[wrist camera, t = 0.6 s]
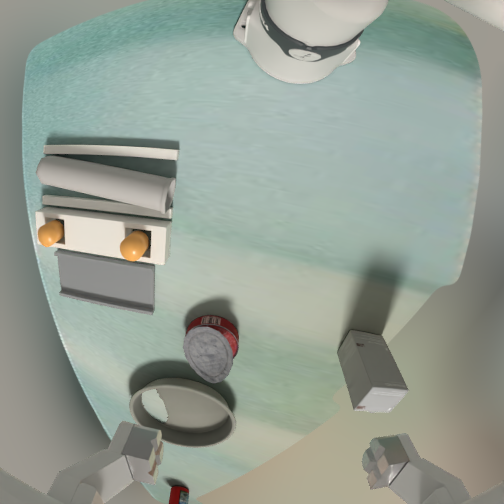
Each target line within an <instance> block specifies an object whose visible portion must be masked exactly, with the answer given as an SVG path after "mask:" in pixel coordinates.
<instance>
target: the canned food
mask: <svg viewBox="0 0 504 504" xmlns="http://www.w3.org/2000/svg"><path fill="white" fill-rule="evenodd" d="M238 341H239V336H238V332H237V330H236V328H235V327H234V325H233V324H232V323H231V322H229V321H228V320H226V319H224V318H222V317H219V316H213V315H207V316H202V317H199V318H197V319H195V320H194V321H192V322H191V323H190V325H189V326H188V328H187V332H186V335H185V338H184V345H183V349H184V352H185V357H186V359H187V360H188V362H189V364H190V366H191V367H192V368H193V369H194V370H195V371H196V373H197V374H198V375H199V376H201V377H202V378H203V379H204V380H206V381H208V382H211V383H217V382H222V381H223V380H224V379H225V378H226V377H227V376H228V375H229V372H230V370H231V367H232V365H233V359H234V358H235V356H236V355H237V353H238V348H239V345H238Z"/></svg>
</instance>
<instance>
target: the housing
mask: <svg viewBox="0 0 504 504" xmlns="http://www.w3.org/2000/svg"><path fill="white" fill-rule="evenodd" d="M44 154H90V155H114V156H131V157H146V158H158V159H169V160H178V157H179V150H174V149H162V148H149V147H133V146H112V145H44ZM43 204H46V205H55V206H65V207H74V208H84V209H93V210H102V211H110V212H119V213H127V214H136V215H144V216H152V217H160V218H168V219H171V218H172V215H173V208H172V207H170V208H169V210H168V211H167V212H166V213H165V214H163V213H161V211H157V210H153V209H149V208H145V207H141V206H137V205H133V204H128V203H124V202H120V201H110V200H100V199H90V198H79V197H68V196H57V195H44V196H43ZM56 219H64V229H65V236H63V238H62V239H60V240H59V241H57V242H56V243H54V244H53V245H51V247H57V248H62V249H68V250H74V251H80V252H86V253H91V254H97V255H103V256H110V257H116V258H122V259H125V258H124V257H123V256H122V254H121V252H120V244H121V242H122V241H123V240H124V239H125V238H126V237H127V236H128V235H129V234H131V233H132V228H133V229H141V230H149V231H152V232H151V249H147V250H146V251H145V253H144V254H143V255H142V256H141V257H140V259H138V260H137V261H141V262H147V263H154V264H160V265H165V263H166V262H167V260H168V258H169V257H170V242H171V227H172V221H164V220H156V219H148V218H140V217H132V216H124V215H116V214H107V213H99V212H90V211H81V210H72V209H63V208H54V207H45V208H42V209H40V210H38V211H36V229H37V241H38V244H40V245H42V244H41V243H40V241H39V239H38V230H39V228H40V227H41V226H43V225H45V224H47V223H48V222H50V221H52V220H56Z"/></svg>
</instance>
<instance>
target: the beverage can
mask: <svg viewBox="0 0 504 504" xmlns="http://www.w3.org/2000/svg"><path fill="white" fill-rule="evenodd" d="M188 498H189V490H188V489H186V488H185V487H181V486H174V487H172V488H171V493H170V499H169V504H188Z"/></svg>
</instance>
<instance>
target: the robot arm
mask: <svg viewBox="0 0 504 504" xmlns="http://www.w3.org/2000/svg"><path fill="white" fill-rule="evenodd" d="M445 1H446V2H448V3H450V4H452V5H454V6H456V7H458V8H460V9H462V10H464V11H466V12H468V13H470V14H471V15H474V16H475V17H477V18H479V19H481V20H483V21H485V22H487V23H489V24H490V25H492V26H494V27H496V28H497V29H499V30H501V31H503V32H504V0H445ZM387 3H388V0H248V2H247V4H246V6H245V8H244V10H243V12H242V14H241V16H240V18H239V20H238V22H237V24H236V26H235V29H234V32H233V35H234V37H235V39H236V40H238V41H239V42H240V43H241V44H243V45H244V46H246V47H247V49H248V50H249V52H250V54H251V56H252V58H253V59H254V61H255V62H256V63H257V65H258V66H259V67H260V68H261V69H262V70H264V71H265V72H266V73H267V74H269V75H271V76H272V77H274V78H276V79H279V80H281V81H285V82H289V83H295V84H306V83H312V82H316V81H319V80H321V79H323V78H325V77H326V76H328V75H329V74H330V73H331V72H333V71H334V70H335V69H336V68H337V67H339V66H341V65H345V64H348V63H351V62H352V61H353V60H354V59H355V58H356V50H355V49H356V48H357V47H358V46H359V44H360V40H359V39H358V38H359V37H360V36H361V34H362V33H363V31H364V28H366V27H367V26H368V25H369V24H370V23H372V22H373V21H374V20H375V19H376V18H378V17H379V16H380V15H381V14H382V13H383V11H384V10H385V8H386V5H387ZM243 25H245V26H246V28H242V26H243ZM161 437H162V433H161V430H157V429H153V428H149V427H145V426H141V425H137V424H133V423H129V422H126V421H122V422H121V423H120V424H119V426H118V428H117V431H116V433H115V435H114V437H113V439H112V441H111V443H110V445H109V448H108V450H106V449H103V450H101V451H99V452H97V453H95V454H93V455H92V456H90V457H88V458H86V459H84V460H82V461H80V462H78V463H76V464H74V465H72V466H70V467H68V468H66V469H64V470H61V471H59V473H58V475H57V477H56V479H55V480H54V482H53V484H52V486H51V488H50V490H49V492H48V493H47V495H46V494H44V493H42V492H40V491H39V490H37V489H35V488H33V487H31V486H29V485H28V484H26V483H24V482H23V481H21V480H19V479H17V478H16V477H14V476H12V475H11V474H9V473H8V472H6V471H5V470H3V469H2V468H0V504H105V502H106V501H108V500H109V499H111V498H112V497H113V496H115V495H116V494H117V493H119V492H120V491H121V490H123V489H124V488H125V487H127V486H128V485H129V484H131V483H132V482H133V480H135V481H139V482H144V483H148V484H153V485H155V483H156V480H157V476H158V467H157V466H158V465H160V464H161V462H162V458H163V442H162V441H161ZM362 464H363V468H364V470H365V471H366V472H367V473H369V474H368V476H367V480H368V483H369V486H370V489H376V488H382V487H387V486H389V488H390V489H391V490H392V491H393V492H394V493H396V494H397V495H398V496H399V497H400V498H402V499H403V500H404V501H405V502H406V503H407V504H504V481H502V482H501V483H499V484H497V485H496V486H494V487H492V488H490V489H488V490H487V491H485V492H483V493H481V494H479V495H477V496H475V497H473V498H471V497H470V495H469V493H468V491H467V489H466V488H465V486H464V484H463V482H462V481H461V479H459V478H457V477H455V476H454V475H452V474H450V473H448V472H447V471H444V470H443V469H441V468H439V467H438V466H436V465H434V464H433V463H431V462H429V461H427V460H426V459H424V458H423V459H421V458H420V456H419V455H418V452H417V451H416V449H415V447H414V445H413V443H412V441H411V440H410V438H409V436H408V434H406V433H404V434H398V435H391V436H384V437H378V438H374V439H372V440H371V442H370V448H368V449H367V450H366V451H365V453H364V454H363V459H362Z"/></svg>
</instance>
